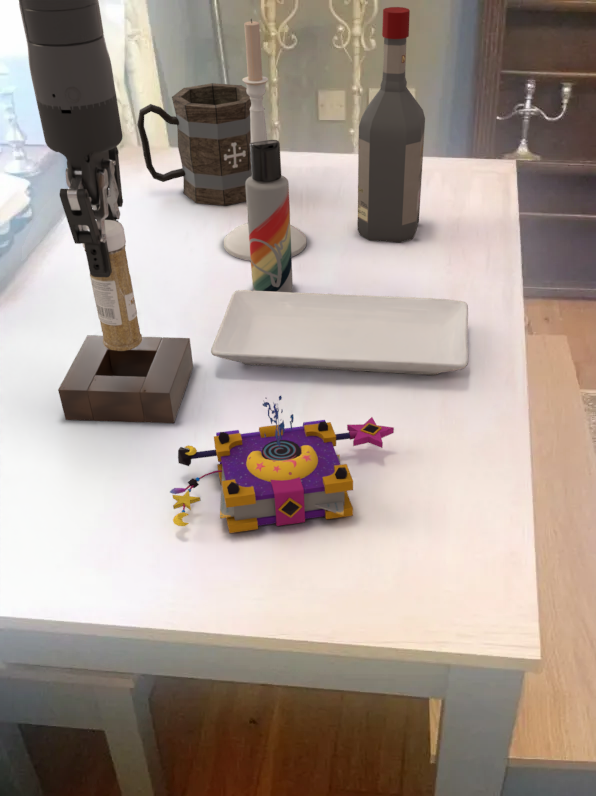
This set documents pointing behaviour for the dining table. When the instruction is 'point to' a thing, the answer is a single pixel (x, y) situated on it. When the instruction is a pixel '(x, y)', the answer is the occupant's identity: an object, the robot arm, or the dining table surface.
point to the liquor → (391, 145)
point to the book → (279, 473)
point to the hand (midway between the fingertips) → (107, 264)
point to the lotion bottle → (269, 219)
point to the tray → (344, 332)
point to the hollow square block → (127, 381)
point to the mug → (208, 142)
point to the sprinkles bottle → (116, 295)
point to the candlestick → (256, 140)
